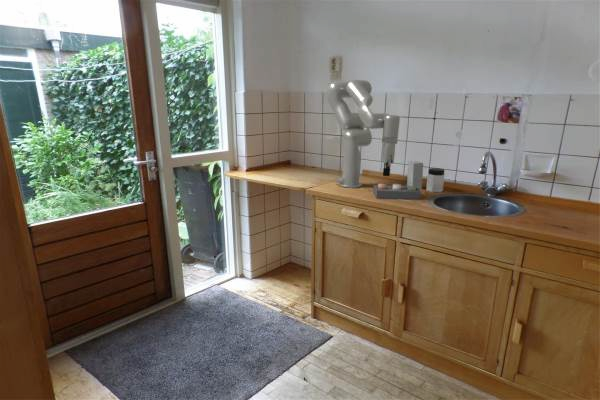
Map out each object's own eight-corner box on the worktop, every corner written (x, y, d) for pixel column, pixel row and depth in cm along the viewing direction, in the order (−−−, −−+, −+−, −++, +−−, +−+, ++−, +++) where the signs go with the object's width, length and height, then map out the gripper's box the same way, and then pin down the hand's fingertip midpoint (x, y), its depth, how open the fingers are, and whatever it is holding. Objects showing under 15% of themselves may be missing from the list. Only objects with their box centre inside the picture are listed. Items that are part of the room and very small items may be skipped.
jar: (423, 189, 220) (425, 168, 217) (434, 188, 223) (436, 167, 220) (434, 193, 212) (436, 171, 209) (445, 191, 215) (448, 170, 212)
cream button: (392, 192, 201) (393, 185, 200) (391, 190, 205) (391, 183, 205) (401, 192, 201) (402, 185, 200) (399, 190, 205) (400, 184, 204)
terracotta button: (378, 191, 202) (378, 185, 201) (377, 189, 206) (377, 183, 205) (386, 192, 201) (387, 185, 200) (385, 190, 206) (386, 183, 205)
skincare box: (421, 189, 220) (424, 163, 216) (411, 189, 219) (414, 163, 215) (415, 185, 228) (418, 160, 224) (405, 186, 227) (408, 160, 223)
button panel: (376, 198, 199) (377, 190, 198) (373, 192, 210) (373, 185, 209) (420, 199, 198) (421, 192, 197) (414, 193, 209) (415, 186, 208)
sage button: (407, 194, 201) (408, 187, 200) (405, 192, 205) (406, 185, 204) (416, 194, 201) (416, 187, 200) (414, 192, 205) (414, 185, 204)
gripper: (379, 137, 204) (376, 172, 209) (385, 142, 190) (381, 178, 195) (393, 138, 204) (390, 172, 209) (400, 142, 190) (396, 179, 195)
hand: (386, 175), depth 202 cm, fingers closed
